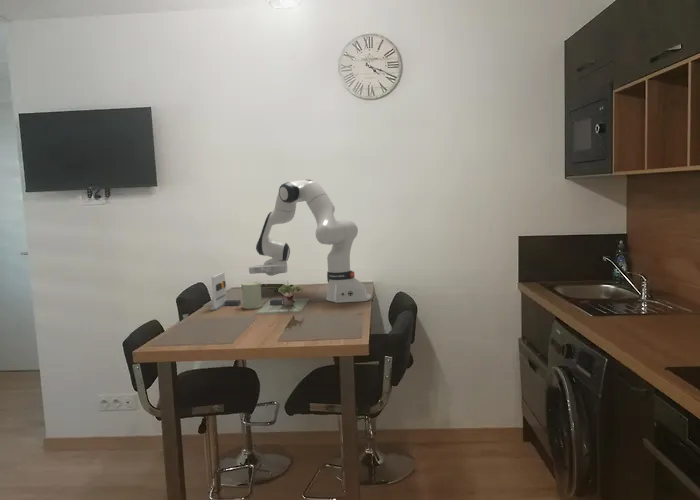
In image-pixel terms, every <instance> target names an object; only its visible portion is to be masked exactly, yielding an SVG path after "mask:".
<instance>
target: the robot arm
mask: <svg viewBox="0 0 700 500" xmlns="http://www.w3.org/2000/svg"><path fill="white" fill-rule="evenodd" d="M300 202H306V205H307V206H308V208H309V209H310V211H311V214H312V215H313V217H314V219H315V220H316V229H315V238H316V240H317V241H318V243H320V244H321V245H328V246H329V245H331V246H332V247H331V249H330V252H329V253H328V254H327V258H326V259H327V271H326V272H327V273H326V276H327V277H326V279H327V280H326V281H327V293H326V301H328V302H333V303H335V304H338V303H354V302H355V303H356V302H367V301H370V300H371V299H372V295H371V294H370V293H368V292H367V288H366V285H365V284H364V283H362V282H361V281H360V280H358V279H357V278H356V277H355V271H353V270H351V259H350V258H351V249H352V245H353V242H354V240H355V239H356V237H357V235H358V233H359V232H358V226H357V224H356V223H355V222H353V220H347V219H343V220H336V218H335V216H334V213H335V210H336V209H335V205H334V203H333V202H332V200H331V198H330V197H329V195H328V194H327V192H326V190H325V189H324V188H323V187H322V186H321V184H320V183H319V182H317V181H315V180H313V179H303V180H302V179H300V180H298V179H296V180H292V181H289V182H288V181H287V182H284V183H283V184H281V185H280V186H279V188H278V193H277V196H276V200H275V205H274V208H273V210H272V211H270V212H269V213H267V216H266V218H265V220H264V224H263V227H262V229H261V231H260V232H261V233H260V235H259V238H258V241H257V243H256V246H255V250H256V252H257V253H258V255H259V256H265V257H270V258H269V259H267V260H266V261H264V263H263V264H259V265H258V264H257V265H251V266H249V267H248V272H249V274H250V275H251V274H266V275H267V276H271V277H272V276H275V275H279V274H285V273H288V263H287V262H288V260H289V258H290V254H291V248H290V246H289V244H288V243H287V242H284V241H280V240H275V239H272V238H270V237H269V235H270V233H271V229H272V227H273V226H274V225H280V224H281V225H282V224H287V223H289V222H291V221H293V219H294V217H295V215H296V209H297V203H300Z"/></svg>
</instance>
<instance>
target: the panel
mask: <svg viewBox="0 0 700 500" xmlns="http://www.w3.org/2000/svg"><path fill="white" fill-rule="evenodd" d="M226 286H227V284H226V277H225V272H220V273H218V274H216V275H214V276H211V289H212V302H213V303H212V304H213V306H212V307H210V308H209V309H210V311H217V310H219V309H221V308H223V307H224V306H225V302H226V301H225V300H227V292H226V288H227V287H226Z"/></svg>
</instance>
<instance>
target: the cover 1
mask: <svg viewBox="0 0 700 500" xmlns="http://www.w3.org/2000/svg"><path fill="white" fill-rule="evenodd" d="M225 301H226V302H225V305H224V306H225V307H231V306H232V307H233V306H234V307H235V306H237V307H239V306H241V303H242V302H241V299H226V300H225Z"/></svg>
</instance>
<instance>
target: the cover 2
mask: <svg viewBox="0 0 700 500" xmlns="http://www.w3.org/2000/svg"><path fill="white" fill-rule="evenodd" d="M269 299H270V300H269V305H270V306H282V305H281V304H282V301H284V299H283V298H269Z"/></svg>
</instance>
